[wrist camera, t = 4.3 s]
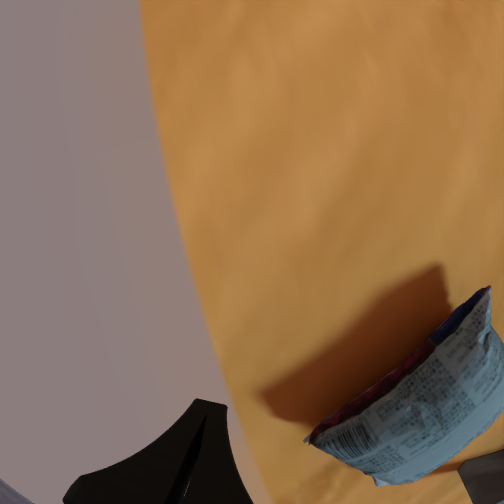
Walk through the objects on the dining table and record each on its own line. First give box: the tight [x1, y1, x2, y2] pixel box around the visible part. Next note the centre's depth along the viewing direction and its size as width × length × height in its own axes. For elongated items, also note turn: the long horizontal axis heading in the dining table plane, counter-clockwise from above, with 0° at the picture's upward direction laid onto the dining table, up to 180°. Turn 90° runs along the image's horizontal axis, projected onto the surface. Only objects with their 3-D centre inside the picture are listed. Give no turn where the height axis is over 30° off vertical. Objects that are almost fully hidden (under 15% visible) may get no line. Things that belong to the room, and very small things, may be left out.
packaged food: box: [303, 285, 504, 487], centre depth 11 cm, size 9×12×5 cm
